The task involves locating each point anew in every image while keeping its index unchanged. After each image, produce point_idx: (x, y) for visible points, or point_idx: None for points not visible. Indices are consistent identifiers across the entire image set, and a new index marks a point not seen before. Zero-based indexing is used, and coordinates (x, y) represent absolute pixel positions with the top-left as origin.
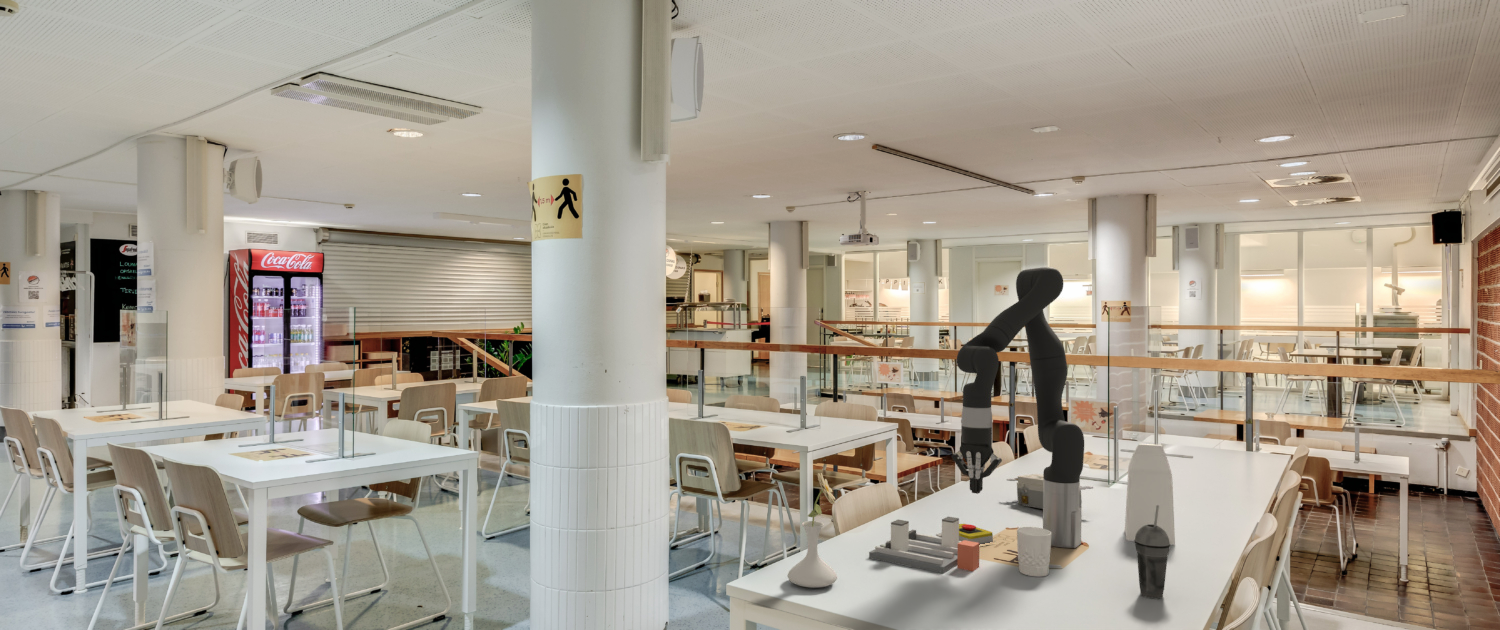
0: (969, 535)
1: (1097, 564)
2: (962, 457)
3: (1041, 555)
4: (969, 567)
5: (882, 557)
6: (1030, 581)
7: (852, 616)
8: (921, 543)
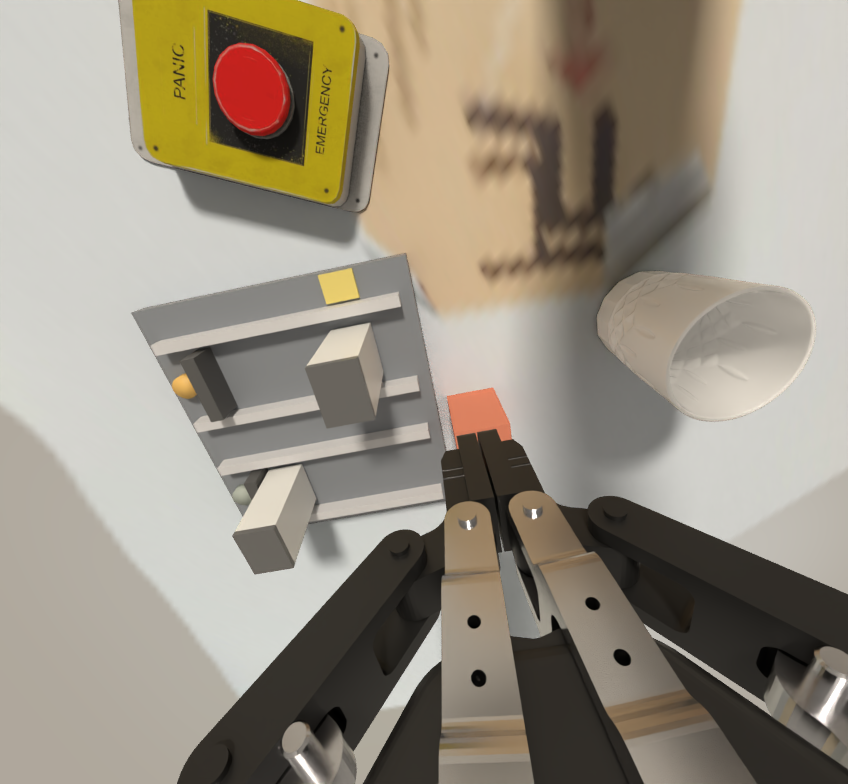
0: (323, 188)
1: (841, 3)
2: (347, 763)
3: (715, 361)
4: None
5: None
6: (650, 390)
7: None
8: (291, 413)
